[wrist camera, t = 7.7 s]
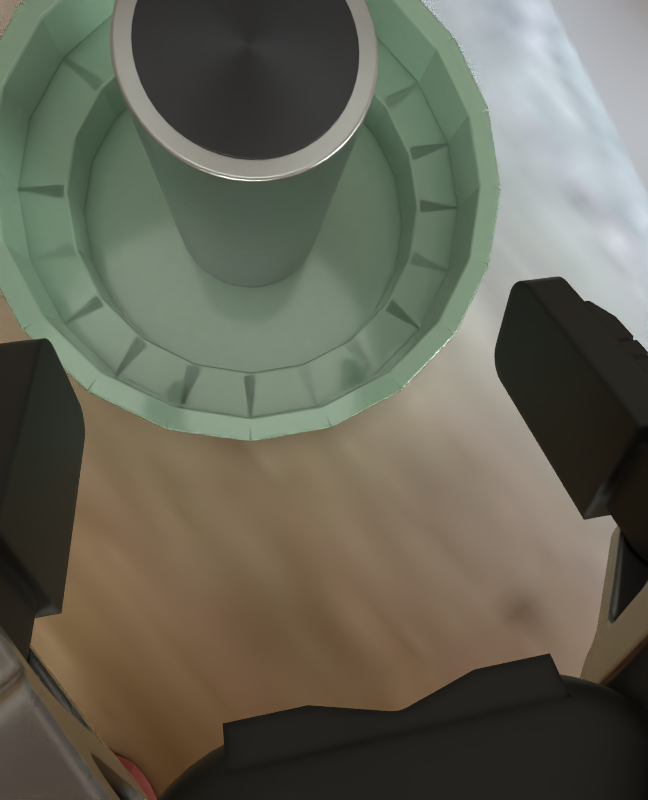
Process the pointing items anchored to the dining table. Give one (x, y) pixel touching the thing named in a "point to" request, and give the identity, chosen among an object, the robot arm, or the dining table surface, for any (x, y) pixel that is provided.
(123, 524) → the dining table surface
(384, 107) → the bowl
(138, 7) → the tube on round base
